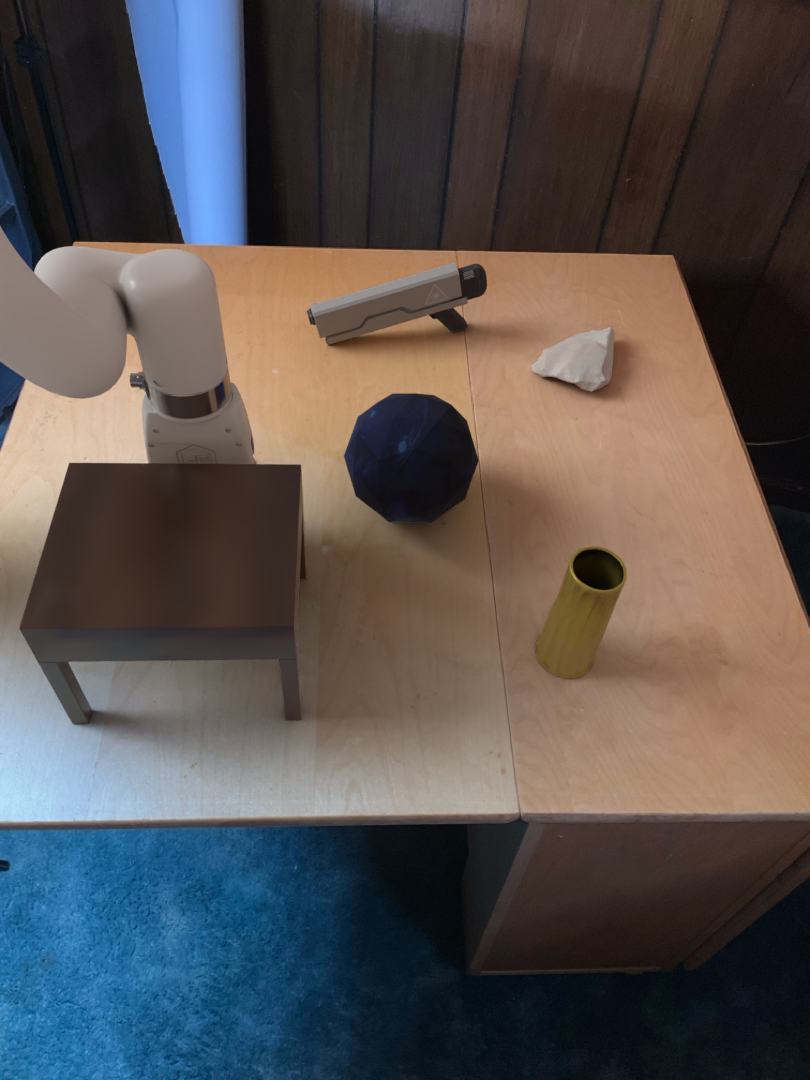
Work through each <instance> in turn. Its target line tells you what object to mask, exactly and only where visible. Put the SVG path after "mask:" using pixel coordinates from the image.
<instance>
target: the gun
mask: <svg viewBox="0 0 810 1080" xmlns="http://www.w3.org/2000/svg"><path fill="white" fill-rule="evenodd" d="M487 277H488V276H487V272H486V270H485V268H484V266H482V265H481V264H480V263H472V264H469V265H468V264H467V265H465V266H462V267H457V265H456V263H455V262H452V263H448V264H444V265H441V266H438V267H435V268H430V269H427V270H424V271H421V272H418V273H414V274H411V275H408V276H404V277H400V278H397V279H394V280H390V281H387V282H383V283H381V284H377V285H374V286H373V285H372V286H370V287H367V288H364V289H360V290H357V291H354V292H353V291H352V292H350V293H346V294H343V295H340V296H336V297H333V298H329V299H326V300H322V301H318V302H316V303H313V304H310V308H308V309H307V310H306V315H307V317H308V321H309V324H310V326H316V331H317V334H318V336H319V338H320V339H322V338H325V342H326V344H327V345H329V346H330V345H333V344H336V343H340V342H343V341H347V340H350V339H353V338H356V337H359V336H364V335H366V334H370V333H374V332H376V331H380V330H384V329H386V328H391V327H394V326H398V325H400V324H403V323H407V322H411V321H414V320H418V319H421V318H424V317H428V316H429V317H430V318H431V319H432V320H438V321H439V322H440V323H441V324H442V325H443V326H444V327H445V328H446V329H447V330H449V331H450V332H451V333H456V332H459V331H462V330H466V329H468V328H469V324H468V323H467V321H466V319H465V318H464V317H463V316H462V314H460V313H459V312H458V311H457V310H456V309H455V308H457V307H461V306H465V305H468V303H469V302H468V301H470V300H473V299H476V298H480V297H482V296H483V295H484V294H485V293H486V291H487V288H488V278H487Z"/></svg>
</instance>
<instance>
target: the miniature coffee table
mask: <svg viewBox="0 0 810 1080" xmlns="http://www.w3.org/2000/svg"><path fill="white" fill-rule="evenodd" d="M302 475H303V473H302V464H300V463H299V464H297V463H296V464H295V463H294V464H293V463H291V464H289V463H285V464H284V463H279V464H278V463H257V464H174V463H148V462H68V466H67V468H66V472H65V475H64V478H63V483H62V486H61V489H60V492H59V494H58V495H59V496H58V498H57V502H56V505H55V509H54V511H53V515H52V518H51V521H50V525H49V529H48V531H47V535H46V537H45V542H44V545H43V548H42V552H41V555H40V558H39V561H38V566H37V568H36V572H35V574H34V578H33V580H32V581H33V582H32V585H31V588H30V590H29V591H30V592H29V594H28V599H27V601H26V605H25V608H24V611H23V615H22V618H21V620H20V621H21V622H20V624H19V629H18V630H19V631H20V633H21V635H22V637H23V638H24V641H25V642H26V644H27V645H28V647H29V649H30V651H31V652H32V655H33V657H34V658H35V659H36V662H37V663H38V665H39V667H40V669H41V670H42V672H43V674H44V676H45V677H46V680H47V681H48V683H49V685H50V686H51V688H52V690H53V692H54V693H55V695H56V697H57V699H58V700H59V703H60V704H61V706H62V708H63V710H64V712H65V713H66V715H67V717H68V719H69V720H70V722H71V724H72V725H88V724H90V720H91V717H92V716H91V715H92V710H93V709H92V707H91V705H90V703H89V701H88V699H87V697H86V695H85V692H84V690H83V689H82V687H81V684H80V683H79V681H78V679H77V677H76V675H75V672H74V671H73V668H72V667H71V665H70V663H81V662H83V663H85V662H92V663H93V662H95V663H96V662H170V661H171V662H172V661H174V662H175V661H182V662H183V661H247V660H248V661H251V660H252V661H254V660H255V661H259V660H261V661H262V660H265V661H266V660H267V661H268V660H278V666H279V674H280V675H279V676H280V684H281V692H282V702H283V710H284V711H283V712H284V718H285V721H301V720H302V715H303V701H302V689H301V675H300V665H299V662H300V661H299V651H298V635H299V634H298V631H299V612H300V611H299V609H300V608H299V607H300V587H301V584H300V583H301V582H300V581H301V580H307V576H308V575H307V574H308V573H307V571H308V568H307V567H308V565H307V547H306V531H305V528H306V527H305V511H304V493H303V476H302Z"/></svg>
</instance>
